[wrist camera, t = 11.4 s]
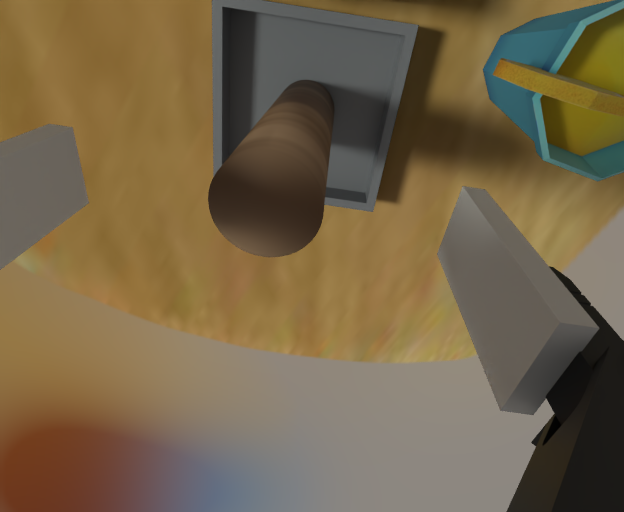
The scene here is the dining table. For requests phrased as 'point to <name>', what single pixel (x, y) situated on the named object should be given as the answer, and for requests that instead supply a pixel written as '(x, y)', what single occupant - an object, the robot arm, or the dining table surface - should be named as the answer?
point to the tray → (317, 67)
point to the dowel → (277, 175)
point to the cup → (566, 86)
